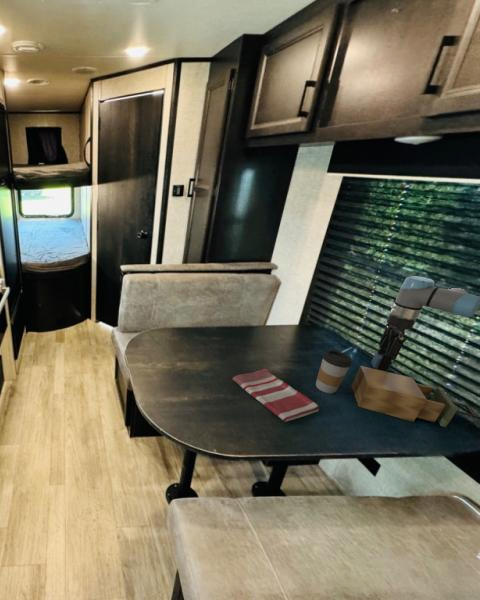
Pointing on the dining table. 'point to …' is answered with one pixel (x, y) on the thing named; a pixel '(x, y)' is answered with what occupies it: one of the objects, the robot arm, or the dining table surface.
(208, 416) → the dining table surface
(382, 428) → the dining table surface
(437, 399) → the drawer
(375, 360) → the block
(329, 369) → the coffee cup
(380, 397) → the cabinet
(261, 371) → the dish towel
